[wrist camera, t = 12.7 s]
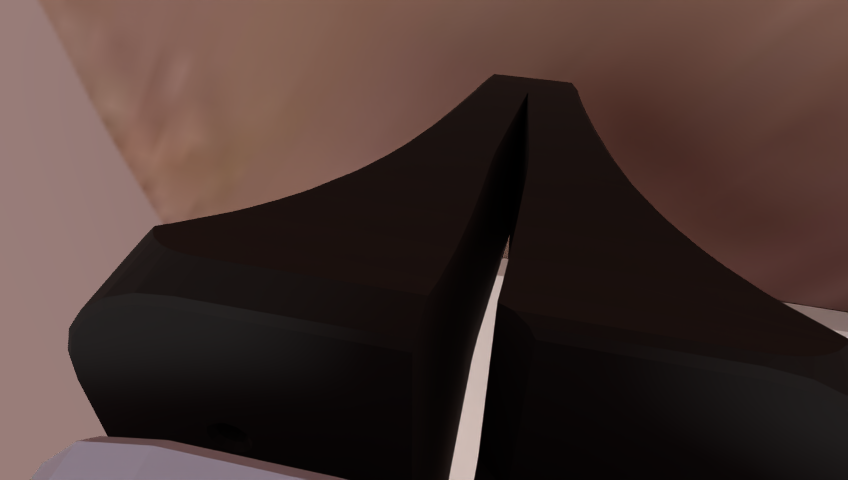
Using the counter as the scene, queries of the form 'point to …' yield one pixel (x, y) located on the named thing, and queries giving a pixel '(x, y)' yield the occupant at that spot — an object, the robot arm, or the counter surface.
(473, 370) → the post board
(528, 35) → the counter surface
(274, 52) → the counter surface
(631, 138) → the counter surface
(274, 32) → the counter surface
